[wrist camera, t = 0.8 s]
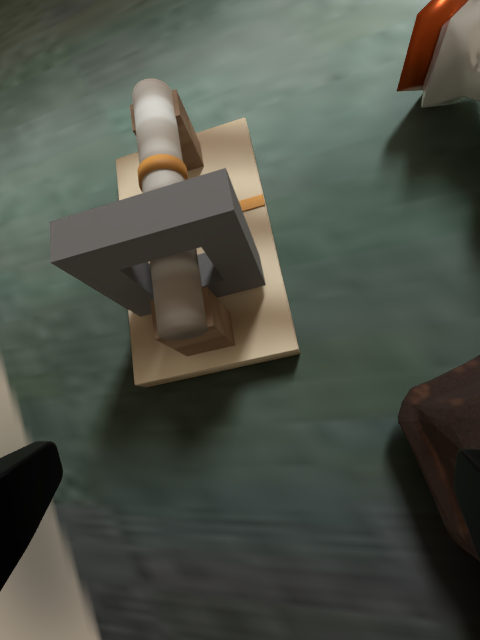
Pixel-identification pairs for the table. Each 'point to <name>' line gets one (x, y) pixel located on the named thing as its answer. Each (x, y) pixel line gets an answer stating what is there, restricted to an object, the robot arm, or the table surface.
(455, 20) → the potion bottle
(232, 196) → the collar
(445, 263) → the table surface
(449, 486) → the brown curved lump
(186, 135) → the pipe rig
